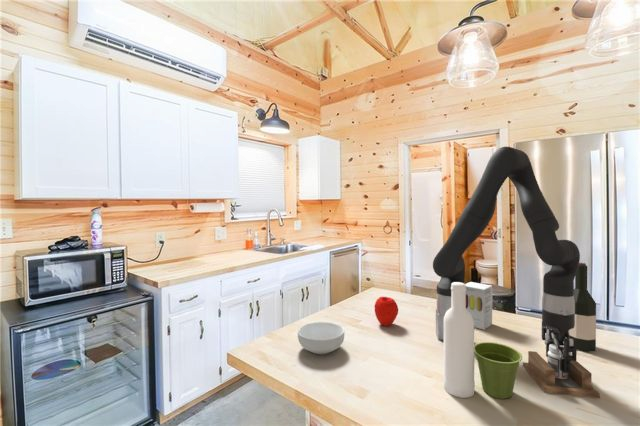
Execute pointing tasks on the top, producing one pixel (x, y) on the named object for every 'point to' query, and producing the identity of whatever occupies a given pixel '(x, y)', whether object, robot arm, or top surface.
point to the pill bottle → (556, 361)
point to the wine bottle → (584, 313)
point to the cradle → (572, 385)
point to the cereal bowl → (321, 337)
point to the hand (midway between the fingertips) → (557, 364)
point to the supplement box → (479, 304)
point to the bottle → (458, 345)
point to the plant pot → (497, 368)
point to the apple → (386, 310)
